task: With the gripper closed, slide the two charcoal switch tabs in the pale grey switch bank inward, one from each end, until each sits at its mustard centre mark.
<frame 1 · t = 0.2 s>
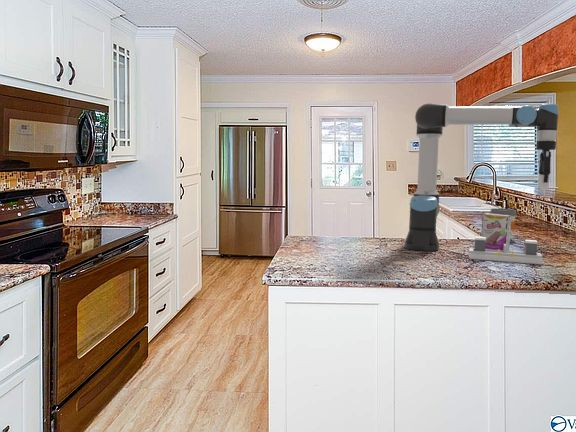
hand: (542, 189, 220), 28 cm above the counter, tool pointing down, fingers open, 13 cm apart
candy bar box: (494, 251, 224), on the counter
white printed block: (501, 238, 264), on the counter
left tab: (479, 244, 207), point 5 cm above the counter, slide at 0.0 cm
right tab: (530, 248, 201), point 5 cm above the counter, slide at 0.0 cm
switch bank: (504, 259, 205), on the counter
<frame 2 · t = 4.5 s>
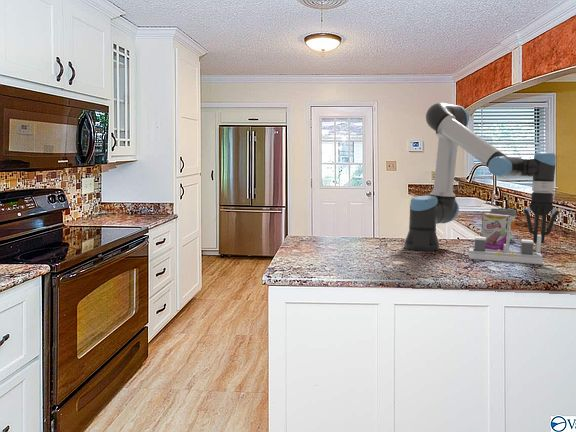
hand: (537, 251, 201), 4 cm above the counter, tool pointing down, fingers closed
right tab: (526, 247, 202), point 5 cm above the counter, slide at 1.4 cm, touching gripper
everything else where it was.
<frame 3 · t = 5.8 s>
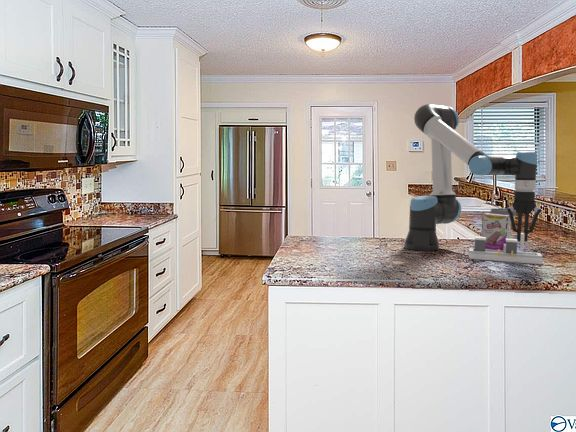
hand: (521, 249, 203), 4 cm above the counter, tool pointing down, fingers closed
right tab: (511, 246, 204), point 5 cm above the counter, slide at 7.2 cm, touching gripper, switch bank
everything else where it was.
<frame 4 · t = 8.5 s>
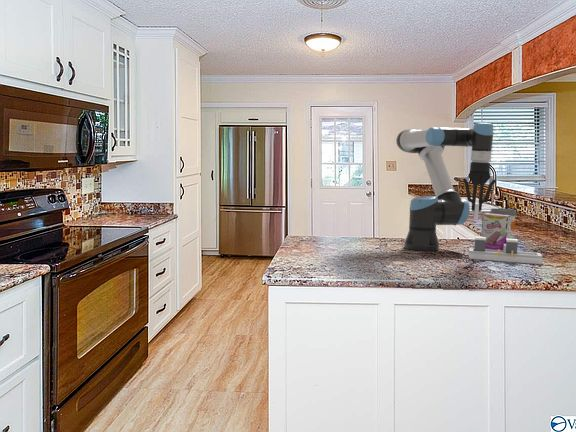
hand: (475, 219, 208), 16 cm above the counter, tool pointing down, fingers closed
right tab: (511, 246, 204), point 5 cm above the counter, slide at 7.0 cm
everything else where it was.
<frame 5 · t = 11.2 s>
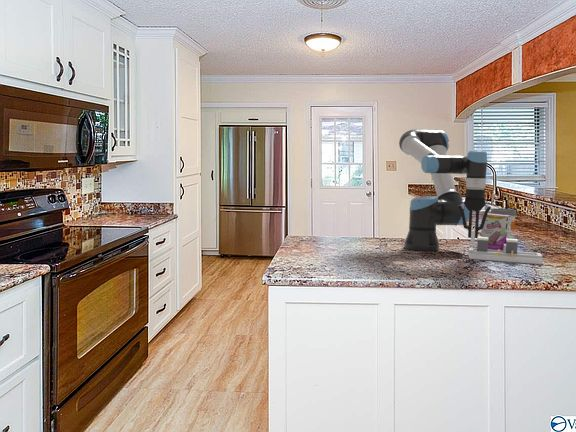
hand: (472, 245, 208), 5 cm above the counter, tool pointing down, fingers closed
left tab: (482, 244, 207), point 5 cm above the counter, slide at 1.0 cm, touching gripper
everything else where it was.
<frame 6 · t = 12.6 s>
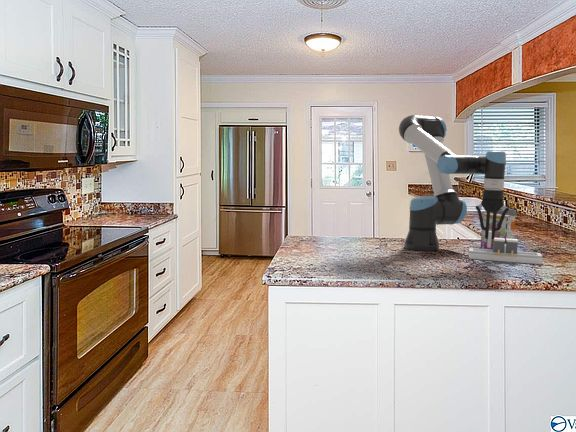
hand: (488, 247, 206), 5 cm above the counter, tool pointing down, fingers closed
left tab: (498, 246, 205), point 5 cm above the counter, slide at 7.2 cm, touching gripper, switch bank
everything else where it was.
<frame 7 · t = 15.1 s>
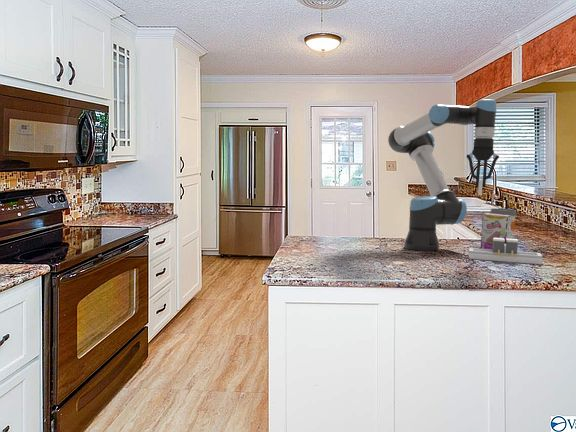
hand: (479, 195, 210), 25 cm above the counter, tool pointing down, fingers closed
left tab: (498, 246, 205), point 5 cm above the counter, slide at 7.0 cm
everything else where it was.
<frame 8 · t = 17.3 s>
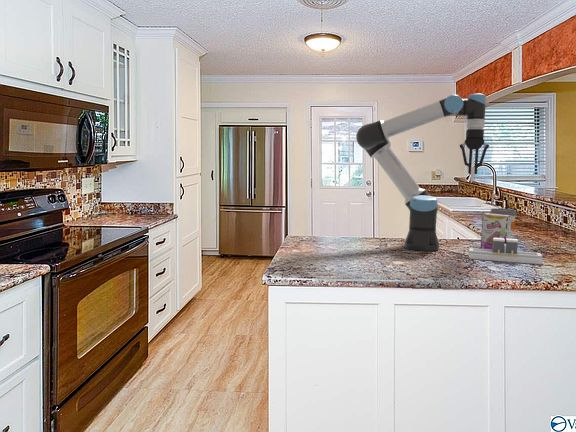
hand: (472, 181, 230), 30 cm above the counter, tool pointing down, fingers closed
nothing on the counter moved.
at the end: right tab slide at 7.0 cm; left tab slide at 7.0 cm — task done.
